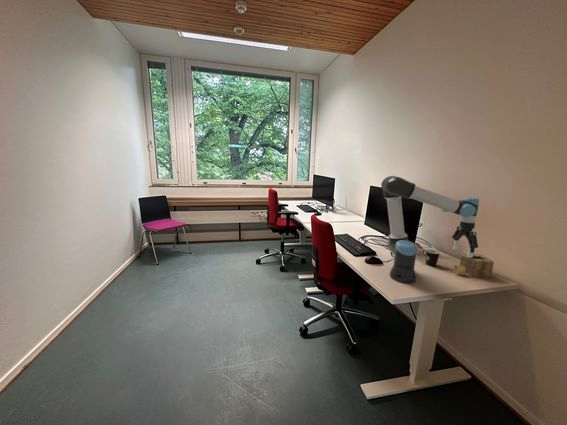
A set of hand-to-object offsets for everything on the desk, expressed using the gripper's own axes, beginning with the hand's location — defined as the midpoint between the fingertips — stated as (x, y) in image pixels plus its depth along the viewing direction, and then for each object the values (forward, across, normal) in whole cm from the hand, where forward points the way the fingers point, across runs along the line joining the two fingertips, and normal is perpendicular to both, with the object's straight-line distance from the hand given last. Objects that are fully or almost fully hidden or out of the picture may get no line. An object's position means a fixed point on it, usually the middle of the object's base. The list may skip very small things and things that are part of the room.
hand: (462, 253), depth 152 cm
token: (+15, 0, 0) cm, 15 cm away
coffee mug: (+15, +16, +10) cm, 24 cm away
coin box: (+15, +3, -12) cm, 19 cm away
